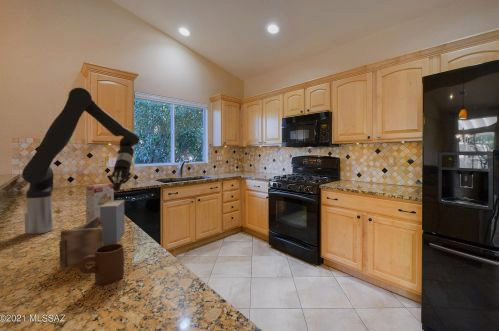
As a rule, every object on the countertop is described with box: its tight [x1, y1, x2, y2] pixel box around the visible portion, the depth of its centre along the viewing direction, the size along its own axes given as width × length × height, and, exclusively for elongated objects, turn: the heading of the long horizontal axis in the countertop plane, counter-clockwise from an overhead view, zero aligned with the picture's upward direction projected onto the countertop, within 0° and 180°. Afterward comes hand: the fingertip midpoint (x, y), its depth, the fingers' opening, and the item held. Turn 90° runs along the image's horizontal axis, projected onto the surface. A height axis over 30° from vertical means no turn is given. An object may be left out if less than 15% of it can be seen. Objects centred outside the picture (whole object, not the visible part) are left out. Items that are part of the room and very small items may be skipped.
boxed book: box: [99, 199, 126, 245], centre depth 105 cm, size 6×14×16 cm, turn 16°
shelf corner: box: [58, 217, 104, 269], centre depth 93 cm, size 12×32×12 cm, turn 16°
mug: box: [77, 243, 125, 285], centre depth 69 cm, size 12×8×9 cm, turn 149°
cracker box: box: [85, 182, 115, 224], centre depth 133 cm, size 14×6×21 cm, turn 168°
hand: (116, 190), depth 116 cm, fingers closed
